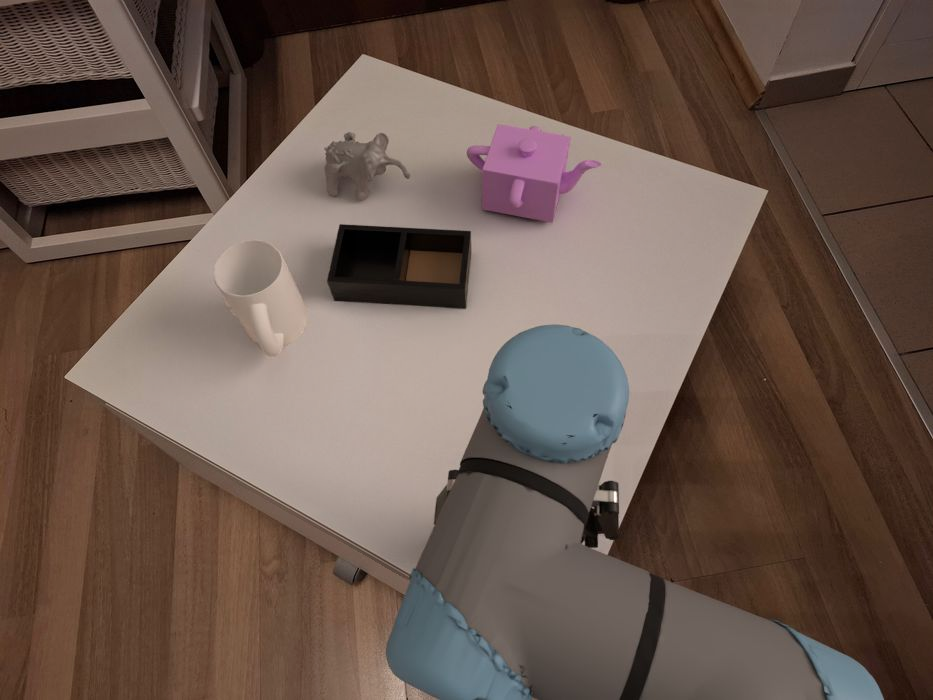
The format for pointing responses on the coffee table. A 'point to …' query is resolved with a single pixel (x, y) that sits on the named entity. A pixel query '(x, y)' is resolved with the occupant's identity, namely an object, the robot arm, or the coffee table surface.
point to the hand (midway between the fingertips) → (521, 536)
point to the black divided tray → (401, 266)
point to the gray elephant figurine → (358, 162)
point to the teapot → (526, 171)
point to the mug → (261, 294)
